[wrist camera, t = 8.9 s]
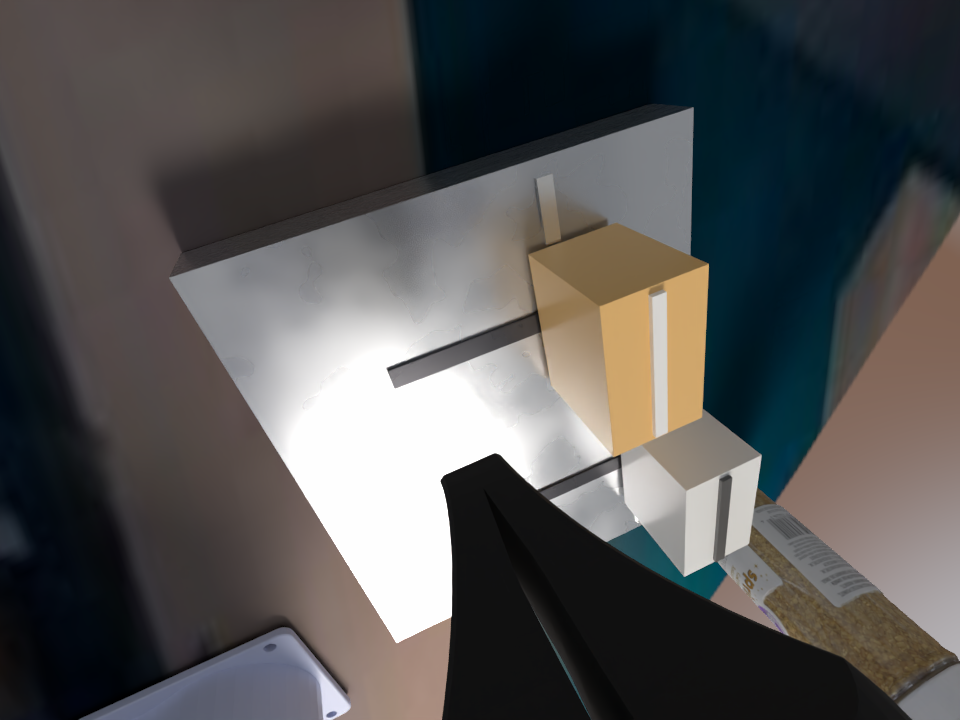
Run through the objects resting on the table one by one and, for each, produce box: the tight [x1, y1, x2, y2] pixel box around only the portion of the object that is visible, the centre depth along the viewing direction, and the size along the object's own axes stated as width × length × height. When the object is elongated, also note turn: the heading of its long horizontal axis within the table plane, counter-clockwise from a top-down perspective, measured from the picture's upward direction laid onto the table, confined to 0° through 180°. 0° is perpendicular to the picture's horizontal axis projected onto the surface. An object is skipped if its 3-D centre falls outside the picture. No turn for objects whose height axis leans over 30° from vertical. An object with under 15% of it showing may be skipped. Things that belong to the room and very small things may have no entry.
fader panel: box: [169, 104, 694, 642], centre depth 19 cm, size 15×18×2 cm
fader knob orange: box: [528, 223, 709, 457], centre depth 15 cm, size 3×5×4 cm, turn 13°
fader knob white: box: [621, 409, 762, 577], centre depth 20 cm, size 3×5×4 cm, turn 13°
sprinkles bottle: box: [718, 488, 960, 720], centre depth 23 cm, size 5×5×14 cm
